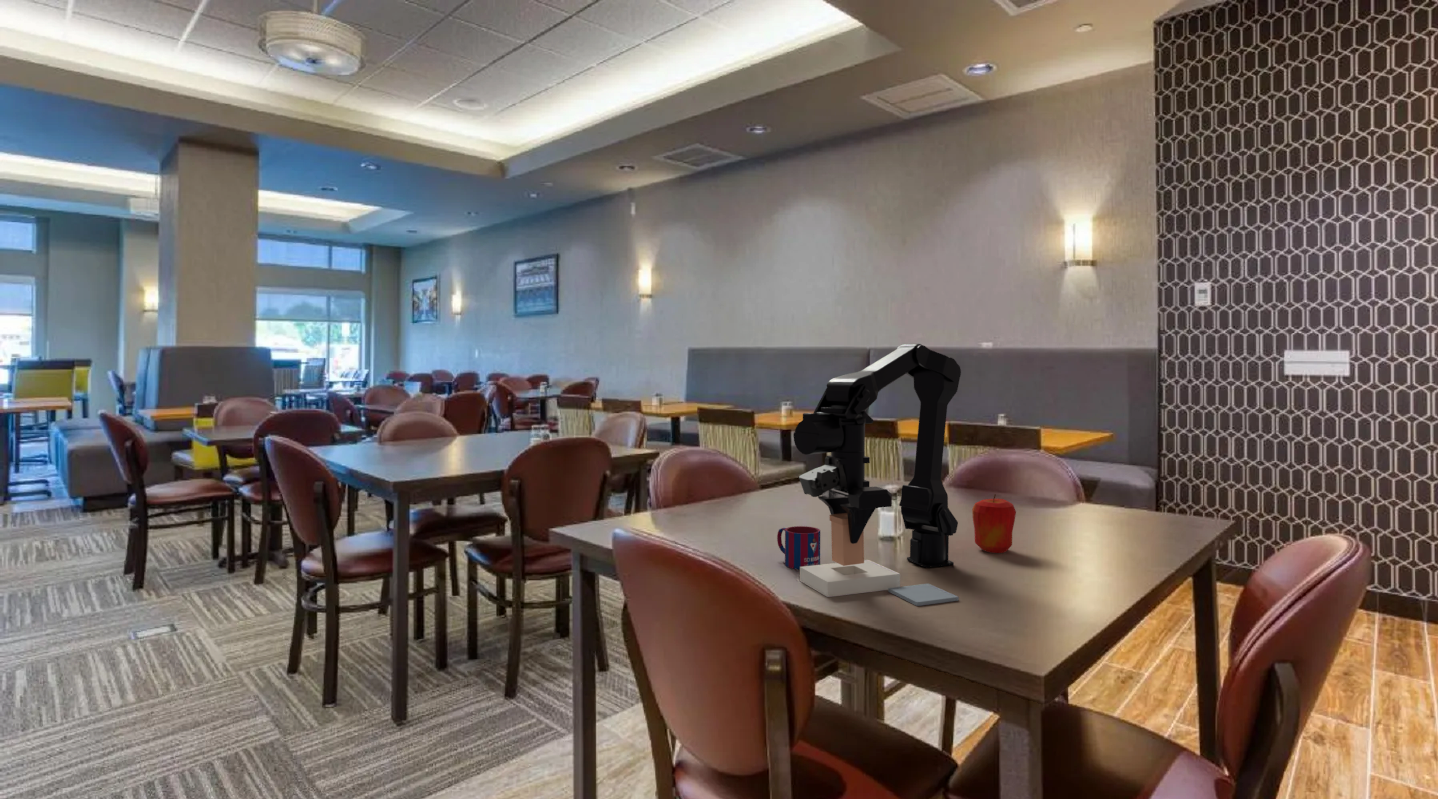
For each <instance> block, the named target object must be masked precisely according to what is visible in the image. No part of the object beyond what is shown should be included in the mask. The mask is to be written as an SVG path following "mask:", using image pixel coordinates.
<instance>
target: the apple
mask: <svg viewBox="0 0 1438 799" xmlns="http://www.w3.org/2000/svg"><path fill="white" fill-rule="evenodd" d="M996 497H997V495H996V494H994V496H993V498H987V499H985V498H984V499H981V500H979V501H977V502H975V503H974V504H973V506H972V510H971V511H972V515H971V516H972V521H973V522H972V523H973V529H974V543H975V544H976V545H977V546H978V547H979V549H981V550H983V551H984V552H987V553H991V554H993V553H994V554H1003V553H1006V552H1008V550H1009V549H1010V548H1011V547H1012V546H1013V530H1014V526H1015V522H1016V521H1015V520H1016V515H1017V511H1016V508H1015V506H1014V504H1013V503H1012V502H1010V501H1008V500H1006V499H1004V498H996Z"/></svg>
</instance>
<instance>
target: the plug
mask: <svg viewBox="0 0 1438 799" xmlns="http://www.w3.org/2000/svg"><path fill="white" fill-rule="evenodd" d="M829 521H830V524H831V525H830V527H831V561H833V562H834V563H839V564H841V565H843V566H847V565H854V564H861V563H864V560H865V545H864V544H865V542H864V540H865V535H864V530H865V529H864V530H863V532H862V534H861V536H860V538H859V540H858V542H857V543H854V544H852V543H851V542H850V536H849V525H848V514H847V513H842V514H833V515H831V514H829Z"/></svg>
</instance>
